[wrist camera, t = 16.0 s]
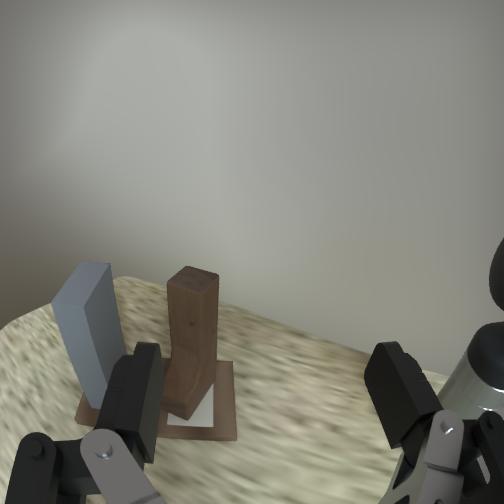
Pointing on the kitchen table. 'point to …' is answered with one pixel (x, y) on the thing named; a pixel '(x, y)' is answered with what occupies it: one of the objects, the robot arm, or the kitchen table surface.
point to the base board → (203, 419)
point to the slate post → (90, 327)
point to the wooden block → (191, 340)
